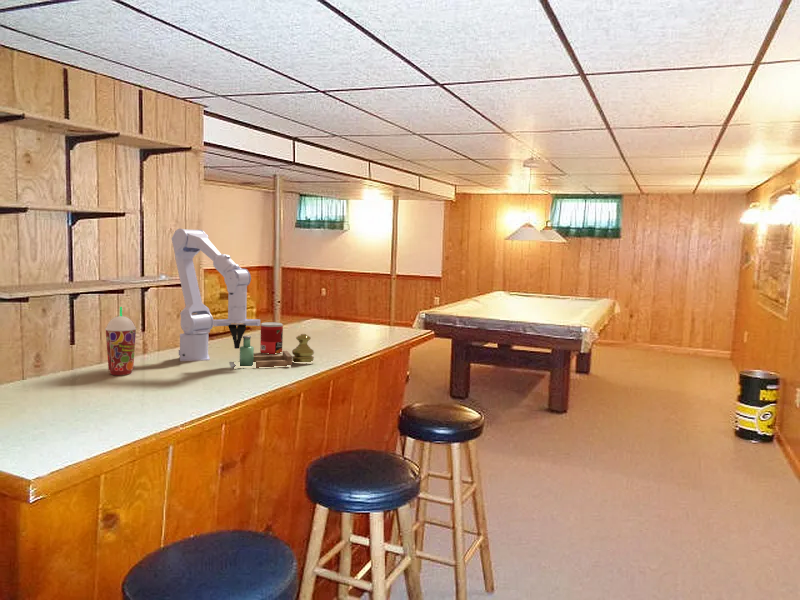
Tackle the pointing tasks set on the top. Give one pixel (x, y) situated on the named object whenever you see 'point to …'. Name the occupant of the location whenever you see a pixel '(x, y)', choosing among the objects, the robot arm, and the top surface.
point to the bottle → (246, 352)
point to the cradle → (271, 360)
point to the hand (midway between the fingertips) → (236, 348)
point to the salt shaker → (303, 350)
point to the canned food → (271, 337)
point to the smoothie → (120, 345)
